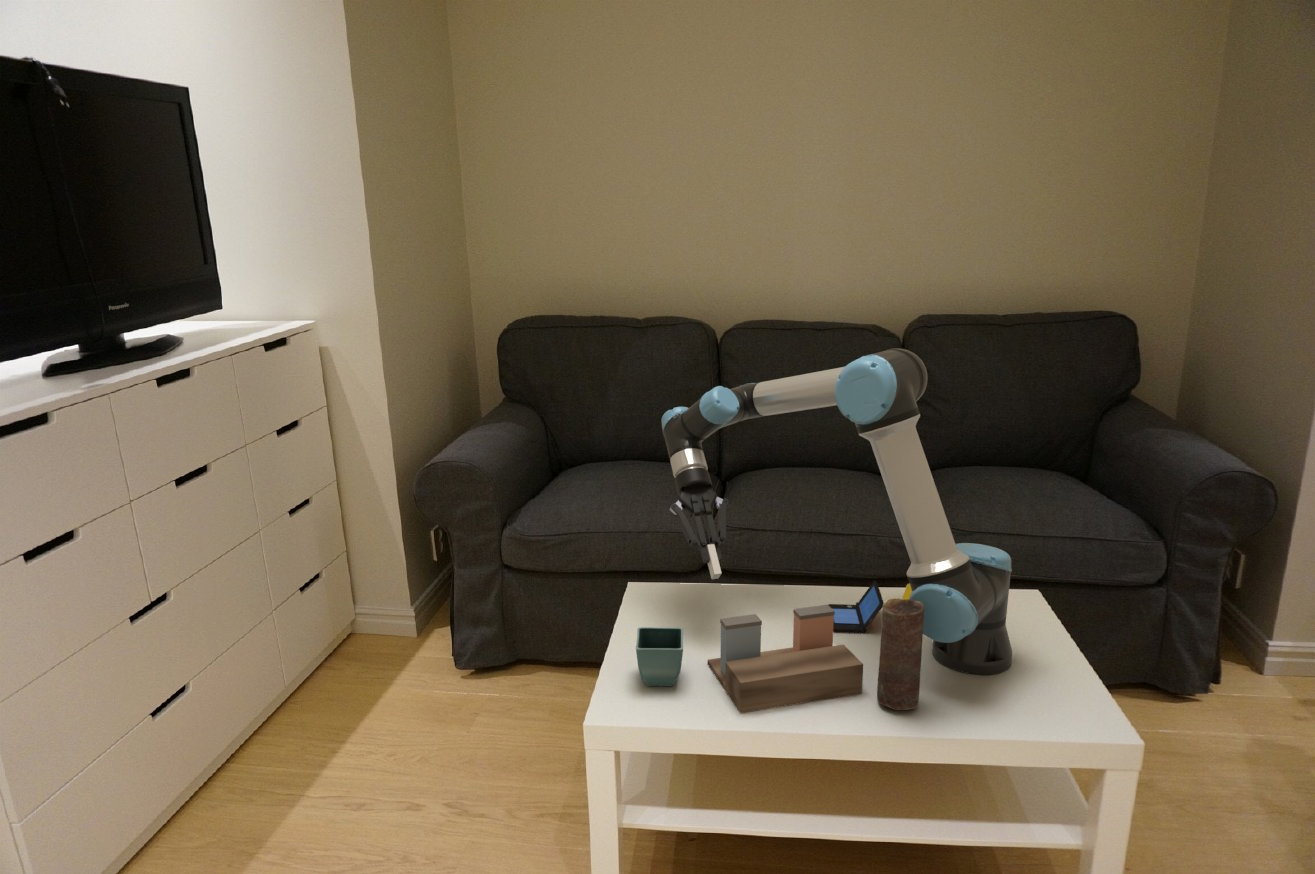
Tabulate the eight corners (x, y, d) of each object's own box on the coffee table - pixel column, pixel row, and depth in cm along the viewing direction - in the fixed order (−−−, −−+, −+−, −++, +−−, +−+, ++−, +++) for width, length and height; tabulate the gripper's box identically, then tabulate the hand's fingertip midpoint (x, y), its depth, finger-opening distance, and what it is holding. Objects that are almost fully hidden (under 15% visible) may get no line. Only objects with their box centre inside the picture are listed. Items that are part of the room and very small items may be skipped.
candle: (910, 720, 161) (917, 616, 156) (870, 708, 165) (875, 606, 160) (923, 701, 168) (930, 600, 163) (884, 690, 172) (890, 591, 166)
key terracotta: (791, 658, 181) (793, 609, 178) (825, 653, 183) (827, 604, 180) (798, 666, 178) (800, 616, 175) (832, 661, 180) (834, 611, 177)
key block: (707, 664, 182) (707, 636, 180) (819, 648, 188) (820, 621, 186) (740, 713, 164) (740, 683, 163) (861, 693, 170) (863, 664, 169)
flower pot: (683, 692, 171) (683, 648, 169) (636, 692, 172) (635, 648, 169) (683, 669, 180) (683, 627, 178) (638, 668, 180) (637, 627, 178)
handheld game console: (825, 608, 206) (827, 577, 204) (874, 610, 205) (876, 579, 203) (830, 633, 194) (832, 601, 192) (882, 635, 193) (884, 603, 191)
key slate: (719, 669, 177) (720, 618, 174) (754, 663, 179) (755, 613, 176) (725, 677, 174) (725, 626, 171) (760, 671, 176) (761, 621, 173)
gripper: (715, 480, 202) (741, 579, 191) (658, 485, 199) (682, 587, 187) (724, 463, 196) (751, 565, 184) (665, 468, 192) (689, 572, 181)
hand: (716, 576), depth 186 cm, fingers closed
